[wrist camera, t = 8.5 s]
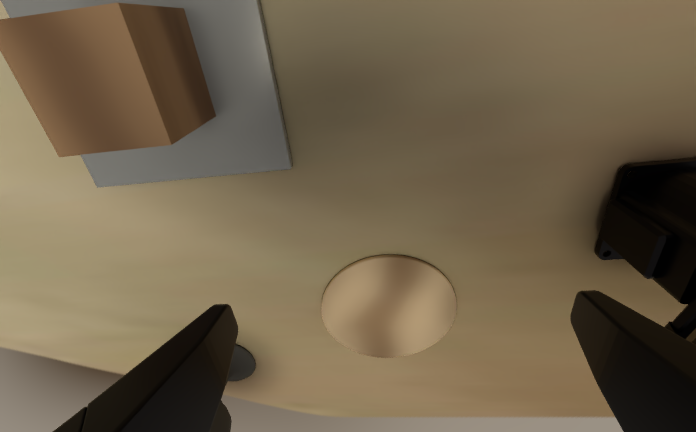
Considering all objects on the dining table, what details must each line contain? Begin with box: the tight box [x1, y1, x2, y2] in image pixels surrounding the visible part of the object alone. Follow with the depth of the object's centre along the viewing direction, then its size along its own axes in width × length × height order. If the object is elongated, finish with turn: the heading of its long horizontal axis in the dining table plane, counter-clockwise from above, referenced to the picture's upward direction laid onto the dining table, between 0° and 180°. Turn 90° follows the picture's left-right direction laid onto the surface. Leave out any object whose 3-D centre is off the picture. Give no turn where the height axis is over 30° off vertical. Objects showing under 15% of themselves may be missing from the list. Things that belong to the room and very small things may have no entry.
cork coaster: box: [321, 255, 457, 358], centre depth 26 cm, size 10×10×1 cm
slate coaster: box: [1, 0, 293, 187], centre depth 18 cm, size 12×12×1 cm
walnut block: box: [0, 3, 216, 157], centre depth 15 cm, size 5×5×5 cm
